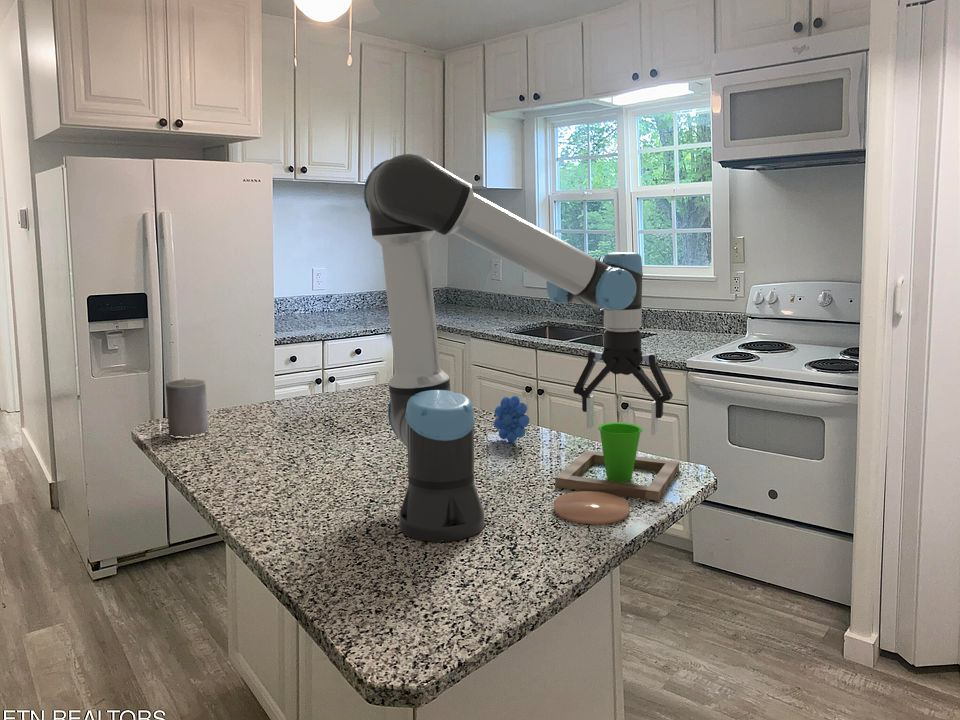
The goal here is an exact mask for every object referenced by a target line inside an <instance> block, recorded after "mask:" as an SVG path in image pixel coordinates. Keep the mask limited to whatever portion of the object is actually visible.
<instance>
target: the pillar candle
mask: <svg viewBox="0 0 960 720" xmlns="http://www.w3.org/2000/svg"><path fill="white" fill-rule="evenodd" d="M165 391H166V392H165V393H166V395H165V396H166V405H167V406H166V407H167V424H168V435H169V434H170V435H173V436H190V435H196V434H201V433H204V432H206V431H208V432H209V418H208V416H209V415H208V404H207V403H208V402H207V401H208V400H207V387H206V380H202V379H191V378H190V379H186V377H184V379H177V380H172V381H168V382H167V383H166V384H165Z"/></svg>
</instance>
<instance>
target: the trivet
mask: <svg viewBox="0 0 960 720" xmlns="http://www.w3.org/2000/svg"><path fill="white" fill-rule="evenodd" d="M553 512H554V513H555V514H556V516H558V517H559V518H561V519H564V520H566V521H569V522H573V523H577V524H582V525H607V524H614V523H618V522H620V521H623V520H625V519H626V518H627V517H628V516H629V515H630V503H629V502H628V501H627V500H626V499H625V498H624V497H622V496H616V495H612V494H608V493H603V492H594V491H580V490H579V491H573V492H568V493H564V494H561V495H559V496H557V497H556V498H555V499H554V500H553Z"/></svg>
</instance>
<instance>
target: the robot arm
mask: <svg viewBox="0 0 960 720" xmlns="http://www.w3.org/2000/svg"><path fill="white" fill-rule="evenodd" d="M363 200H364V204H365V207H366V210H367V211H368V213H369V220H370V228H371V237H372V239H374V240H375V241H376V242H377V243H378V244H379V245H380V246H381V251H382V252H381V253H382V261H383V262H382V263H383V271H384V280H385V289H386V297H387V298H386V300H387V308H388V315H389V316H388V317H389V318H388V319H389V326H390V336H391V345H392V355H393V363H394V374H393V375H392V377H391V378H390V379H389V381H388V392H389V403H388V407H387V419H388V423H389V427H390V428H391V429H392V431H393V433H394V435H396V437H397V438H398V439H399V440H400V441H401V442H402V443H403V444H404V446H405V448H406V449H407V473H408V474H407V476H408V477H407V478H408V479H407V480H408V483H407V488H406V491H405V494H404V499H403V502H402V505H401V509H400V511H399V514H398V515H399V517H398V518H399V523H398V525H399V530H400V532H402V533H403V534H404V535H405V536H407V537H409V538H411V539H414V540H420V541H424V542H432V543H433V542H435V543H436V542H437V543H438V542H439V543H440V542H441V543H442V542H453V541H460V540H465V539H467V538H471V537H473V536H476V535H477V534H479V533H480V532H481V531H482V530H483V529H484V528H485V509H484V508H483V505H482V502H481V499H480V497H479V493H478V490H477V487H476V484H475V437H474V436H475V428H474V425H475V423H476V419H475V414H474V407H473V403H472V401H471V399H470V398H469V397H467V396H466V395H464V394H462V393H460V392H454V391H452V390H451V381H450V380H451V379H450V376H449V374H447V373H446V372H445V371H444V370H443V369H442V368H441V359H440V350H439V349H440V348H439V341H438V339H439V338H438V329H437V318H436V309H435V307H436V306H435V298H434V289H433V288H434V287H433V277H432V267H431V266H432V265H431V254H430V246H429V244H430V243H429V242H430V240H431V238H432V237H433V236H434V235H435V233H436V232H437V233H438V234H441V235H443V236H444V237H445V236H449V235H452V234H454V235H455V236H457V237H460V238H462V239H464V240H466V241H467V242H470V243H471V244H473V245H475V246H478V247H480V248H481V249H484V250H485V251H487V252H489V253H492V254H493V255H495V256H497V257H499V258H501V259H503V260H505V261H507V262H509V263H510V264H513V265H515V266H517V267H519V268H521V269H523V270H525V271H527V272H529V273H531V274H533V275H534V276H537V277H539V278H540V279H543V280H545V281H546V291H547V296H548V297H549V299H550V301H551V302H552V303H553V304H564V305H567V304H580V305H585V306H589V307H590V306H591V307H595V308H600V309H603V327H604V328H606V329H604V331H603V352H601V351H598V350H596V349H593V350H591V351H589V352H588V356H587V362H586V364H585V366H584V368H583V371H582V373H581V374H580V376H579V378H578V380H577V382H576V384H575V386H574V388H573V389H572V390H573V394H575V395H579V396H581V399H582V400H581V402H582V403H581V409H582V412H583V413H586V429H591V428H593V427H594V426H595V415H594V414H595V396H594V395H591V394H592V393H593V391H594V390H596V389H597V387H598V386H600V383H602V381H603V380H604V379H605V378H606V377H607V376H608V375H609V374H610V373H612V374H613V375H623V376H624V375H625V376H629V375H631V374H632V375H633V376H634V378H636V379H637V380H638V382H639V383H640V384H641V386H643V388H644V389H645V390H646V391H647V393H648V394H649V395H650V396H651V398H652V399H653V401H652V402H651V419H650V420H651V422H650V423H651V424H650V427H651V428H650V433H651V435H653V436H655V435H656V434H657V433H658V431H659V430H658V429H659V419H661V418H663V416H664V403H665V402H666V401H667V402H668V401H670V400H671V399H672V398H673V396H674V394H673V392H672V390H671V388H670V386H669V384H668V382H667V380H666V377H665V376H664V373H663V371H662V369H661V367H660V365H659V361H658V354H657V353H656V352H652V353H651V354H650V353H649V354H643V352H642V331H641V329H640V328H641V327H642V320H643V319H642V316H643V314H642V313H643V312H642V310H643V308H642V306H643V305H642V303H643V302H642V300H643V295H642V294H643V276H644V273H643V261H642V256H641V255H640V254H639V253H638V252H633V251H632V252H631V251H629V252H628V251H626V252H625V251H624V252H618V251H617V252H607V253H606V254H604V257H603V261H601V260H599V259H597V258H595V257H593V256H592V255H590V254H588V253H587V252H584V251H582V250H581V249H579V248H577V247H575V246H573V245H571V244H570V243H568V242H566V241H564V240H562V239H560V238H559V237H557V236H554V235H552V234H551V233H550V232H547V231H546V230H544V229H543V228H540V227H538V226H536V225H535V224H533V223H530V222H528V221H527V220H525V219H523V218H521V217H520V216H518V215H516V214H514V213H512V212H510V211H509V210H507V209H504V208H503V207H500V206H499V205H497V204H496V203H493V202H491V201H490V200H489V199H487V198H484V197H482V196H480V195H479V194H477V193H475V192H474V191H473V187H472V184H471V183H469V182H467V181H465V180H464V179H462V178H460V177H459V176H457V175H455V174H453V173H452V172H450V171H448V170H447V169H445V168H443V167H442V166H440V165H439V164H437V163H436V162H434V161H432V160H430V159H428V158H427V157H423V156H421V155H418V154H412V153H405V154H398V155H396V156H393V157H392V158H390V159H386V160H384V161H382V162H380V163H378V164H377V165H376V166H375V167H373V169H372V170H371V171H370V173H369V175H367V178H366V180H365V183H364V187H363ZM600 359H601V360H602V362H603V363H604V364H605V365H604V367H603V368H602V369H601V371H600V372H599V373H598V374H597V376H595V378H594V379H593V380H592V381H591V382H590V384H588V385H587V386H586V388H584V387H585V385H586V384H587V382H588V379H589V377H590V375H591V374H592V371H593V369H594V367H595V365H596V363H598V362H599V361H600ZM643 361H644V362H645V364H646V365H647V366H649V369H650V371H651V373H652V376H653V377H654V380H655V383H656V385H657V386H658V387H656V385H655V384H654V382H653V381H652V380H651V379H650V378H649V377H648V375H647V374H646V373H645V371H644V369H643V368H642V366H641V363H643ZM658 388H659V389H658Z"/></svg>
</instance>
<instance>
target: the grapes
mask: <svg viewBox="0 0 960 720" xmlns="http://www.w3.org/2000/svg"><path fill="white" fill-rule="evenodd" d="M494 409H495V410H494V415H495V417H496V419H495V420H494V422H493V426H494V428H495V429H496V430H499V431H498V437H499V438H500V439H501V440H507V442H509V443H512V444H513V443H516V441H517V440H518V439H522V438H524V436H525V435H526V431H527V430H526V428H527V426H529V424H530V417H529V416H528V415H527V414H526V413H527V411H528V405H527V404H526V403H525V402H521V399H520V397H518V396H517V395H512V396H511V397H510V398H509V397H508V396H505V397H503V398H501V401H500V403H499V405H497V406H496V407H495V408H494ZM525 427H526V428H525Z"/></svg>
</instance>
